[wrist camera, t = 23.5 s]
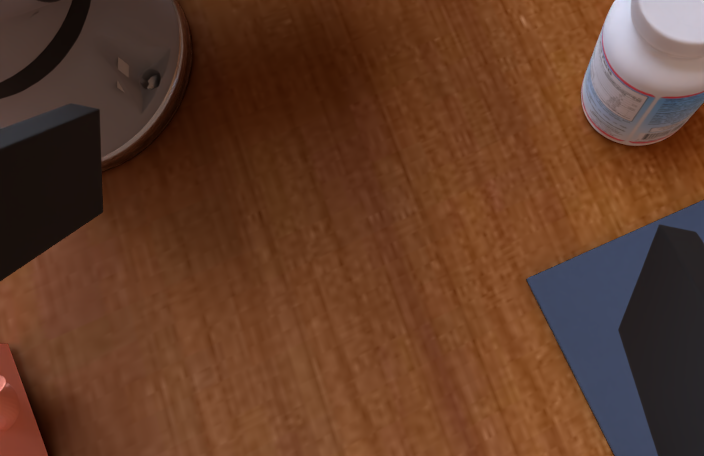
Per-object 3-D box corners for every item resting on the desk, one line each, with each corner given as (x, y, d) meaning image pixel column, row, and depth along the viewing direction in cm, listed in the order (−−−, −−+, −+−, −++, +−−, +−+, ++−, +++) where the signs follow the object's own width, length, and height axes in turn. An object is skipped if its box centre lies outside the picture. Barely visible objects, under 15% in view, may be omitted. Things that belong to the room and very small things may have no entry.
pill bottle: (697, 53, 36) (793, -75, 25) (683, 155, 35) (777, 69, 24) (585, 42, 37) (631, -84, 26) (570, 140, 36) (610, 52, 25)
